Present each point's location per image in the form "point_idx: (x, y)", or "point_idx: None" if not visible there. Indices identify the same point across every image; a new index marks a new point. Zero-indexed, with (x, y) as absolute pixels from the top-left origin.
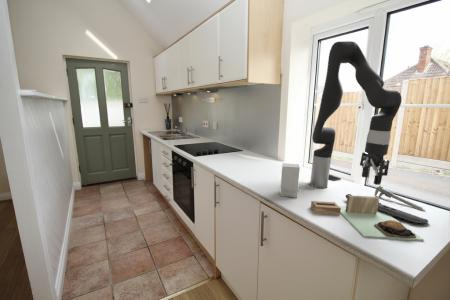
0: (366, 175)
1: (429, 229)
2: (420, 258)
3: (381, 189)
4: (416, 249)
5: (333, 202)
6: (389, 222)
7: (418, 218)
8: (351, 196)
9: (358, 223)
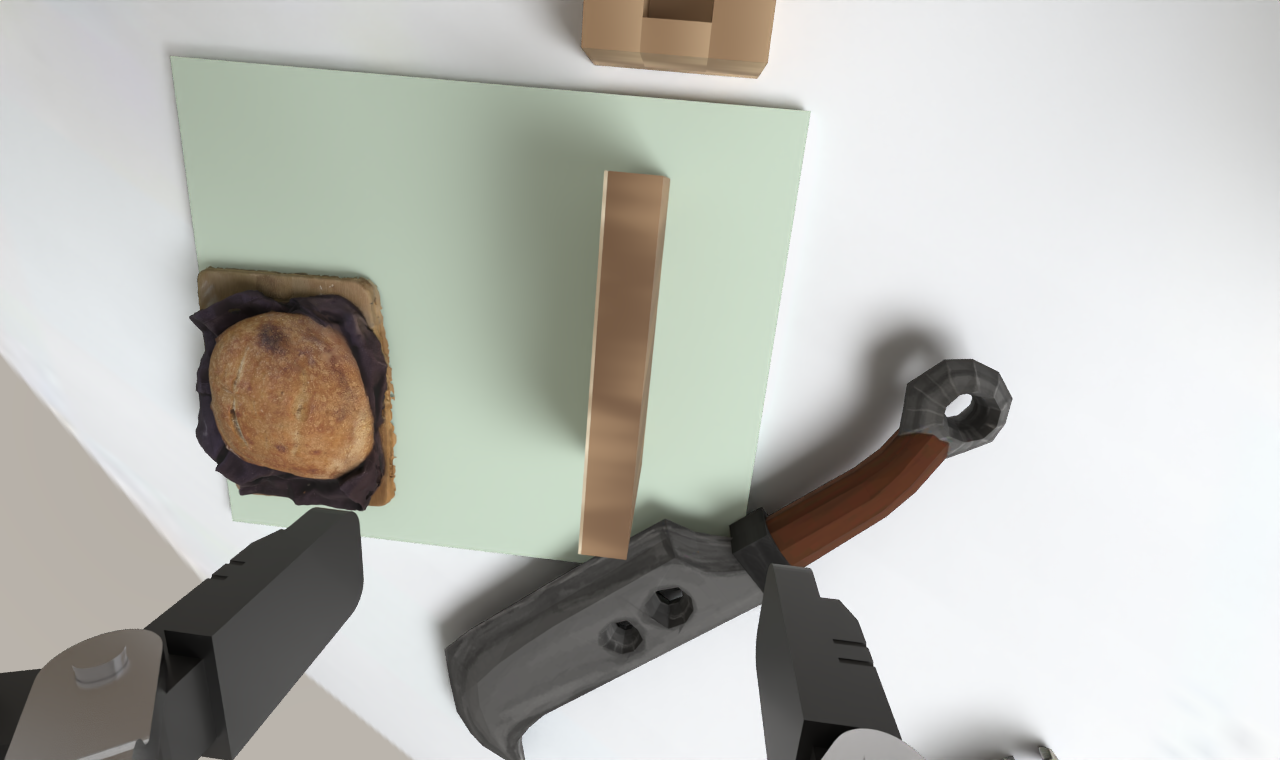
0: (761, 657)
1: (415, 680)
2: (12, 321)
3: None
4: (117, 380)
5: (754, 38)
6: (254, 367)
7: (485, 707)
8: (618, 208)
9: (391, 149)
